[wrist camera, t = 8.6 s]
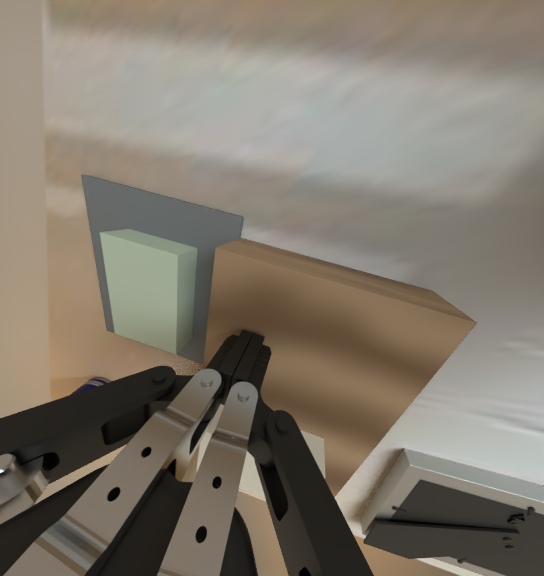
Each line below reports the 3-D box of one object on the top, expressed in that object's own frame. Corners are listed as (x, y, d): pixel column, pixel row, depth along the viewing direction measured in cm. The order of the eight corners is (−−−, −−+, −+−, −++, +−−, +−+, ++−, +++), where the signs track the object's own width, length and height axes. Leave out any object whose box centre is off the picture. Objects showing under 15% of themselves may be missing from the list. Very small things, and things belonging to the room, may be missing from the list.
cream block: (210, 440, 19) (196, 471, 16) (216, 399, 16) (201, 429, 14) (301, 475, 18) (300, 513, 16) (324, 438, 15) (325, 477, 13)
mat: (87, 175, 15) (81, 174, 15) (243, 217, 14) (241, 217, 14) (110, 328, 21) (106, 330, 21) (220, 366, 20) (218, 369, 20)
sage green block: (177, 255, 13) (197, 248, 15) (99, 232, 14) (129, 228, 16) (176, 354, 17) (192, 337, 19) (114, 333, 17) (137, 319, 20)
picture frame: (359, 510, 26) (540, 569, 23) (363, 543, 24) (568, 614, 21) (401, 440, 20) (657, 508, 17) (413, 474, 17) (718, 562, 14)
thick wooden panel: (240, 237, 15) (215, 247, 11) (432, 291, 13) (476, 322, 10) (213, 405, 23) (194, 443, 19) (330, 449, 22) (333, 497, 18)
